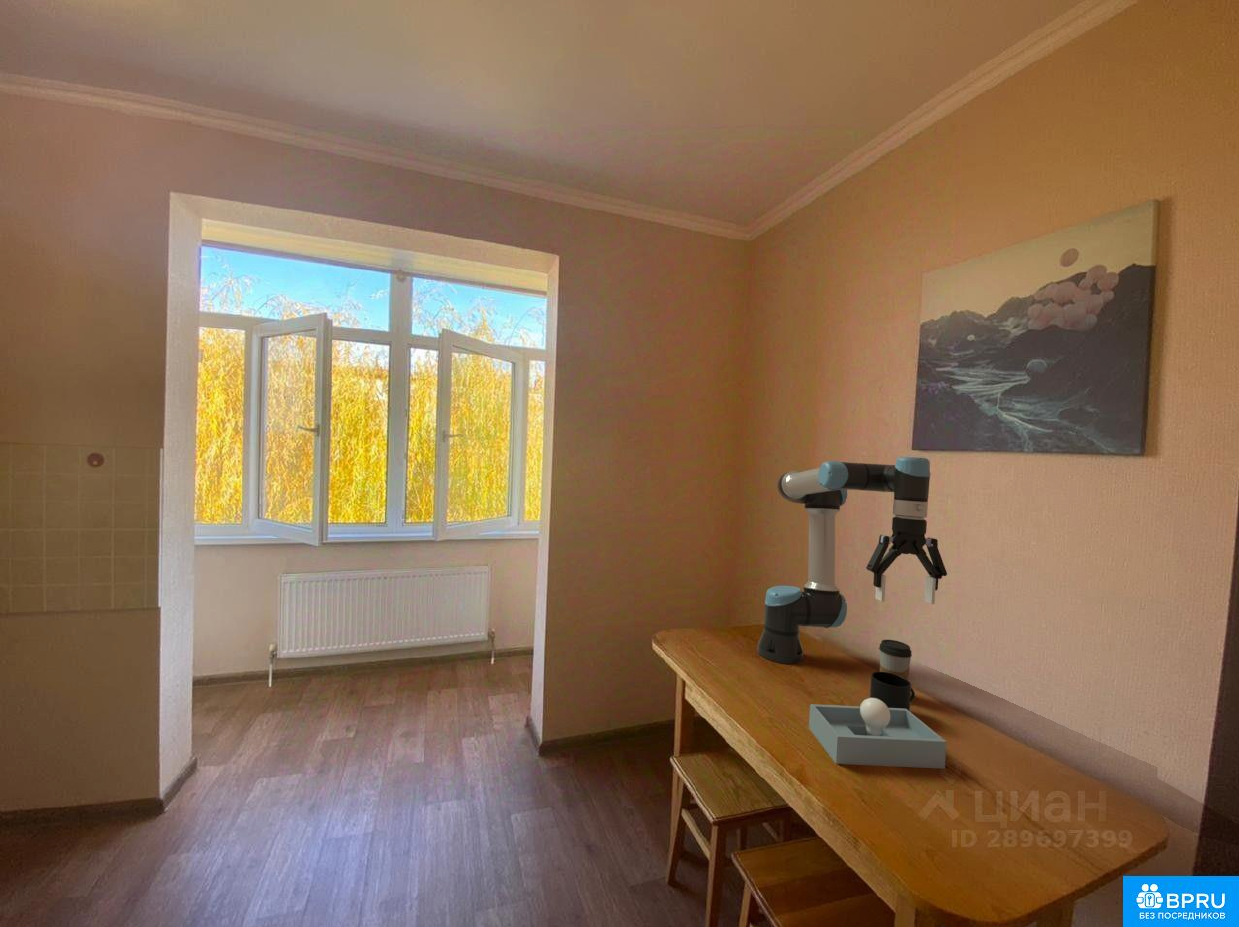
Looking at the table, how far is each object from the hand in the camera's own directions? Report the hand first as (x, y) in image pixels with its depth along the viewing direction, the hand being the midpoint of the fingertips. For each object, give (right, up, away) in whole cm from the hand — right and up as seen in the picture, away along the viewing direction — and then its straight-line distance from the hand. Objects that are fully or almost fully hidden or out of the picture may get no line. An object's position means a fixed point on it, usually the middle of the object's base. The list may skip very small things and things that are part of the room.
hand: (904, 601), depth 120 cm
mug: (+2, -33, +8) cm, 34 cm away
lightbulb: (-13, -32, -9) cm, 35 cm away
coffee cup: (+8, -33, +18) cm, 39 cm away
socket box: (-13, -32, -9) cm, 36 cm away
